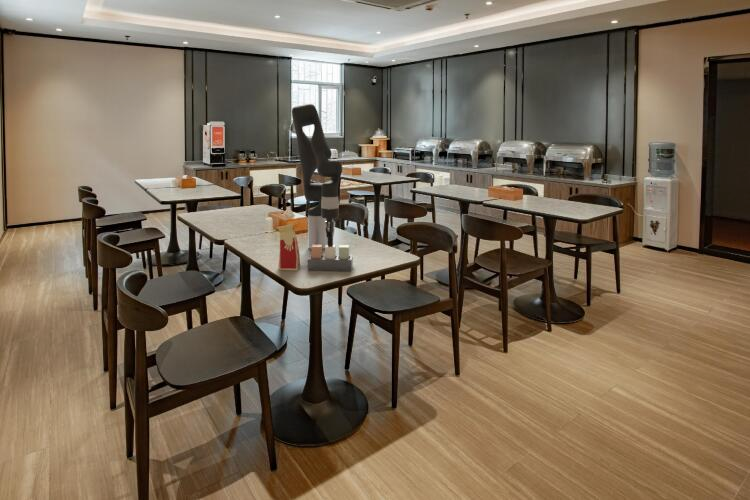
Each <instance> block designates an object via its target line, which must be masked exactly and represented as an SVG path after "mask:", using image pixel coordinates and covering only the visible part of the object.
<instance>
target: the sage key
mask: <svg viewBox="0 0 750 500" xmlns="http://www.w3.org/2000/svg"><path fill="white" fill-rule="evenodd" d="M338 255H339V259H349V255H350V244H345V245H344V244H339V246H338Z"/></svg>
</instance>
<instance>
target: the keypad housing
mask: <svg viewBox="0 0 750 500" xmlns="http://www.w3.org/2000/svg"><path fill="white" fill-rule="evenodd" d="M353 257H354V255H353V254H349V259H339V254H336V259H325V254H322V259H320V258H312V253H311V254H309V257H308V258H307V271H309V272H310V271H313V272H314V271H316V272H317V271H318V272H319V271H321V272H322V271H323V272H324V271H325V272H352V270H353V267H354V266H353V265H354V260H353V259H354V258H353Z"/></svg>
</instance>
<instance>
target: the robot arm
mask: <svg viewBox="0 0 750 500" xmlns="http://www.w3.org/2000/svg"><path fill="white" fill-rule="evenodd" d="M291 116H292V122H293V125H294V126H293V127H294V130H295V135H296V140H297V146H298V147H297V148H298V156H299V160H300V168H301V172H302V179H303V182H302V183H303V193H304V198H305V200H306V201H307V202H316V203H317V202H319V203H318V205H316V206H314V207H310V208H308V209H307V223H308V224H307V231H308V233H307V234H308V235H307V236H308V243H307V244H308V249H310V250H311V247H312V245H322V250H325V246H326V245H328V246H333V245H334V235H335V228H336V227H335V225H336V221H334V219H335V220H336V219H338V218H339V217H340V212H339V211H340V208H339V206H340V204H339V202H340V200H339V186H340V185H339V184H340V180H341V176H342V173H343V165H342V163H341V161H340V160H339V159H331V158H332V156H333V155H332V150H331V148H330V146H329V143H328V141H327V139H326V136H325V133H324V130H323V126H322V122H321V120H320V119H321V118H320V116H319V112H318V110H317V108H316V106H315V105H314V104H313V103H305V104H302V105H301V104H300V105H297V106H293V107H292V108H291ZM308 126H313V127H314V128H313V133H312V137H311V139H310V138H309V136H307V135H306V133H305V131H304V129H303V128H304V127H308ZM315 171H317V173H318V175H319V176H320V177H323V178H328V177H330V179H329V180H328V181H325V182H323V183H322V182H321V183H320V182H312V181H311V180H312V177H313V175H314V173H315Z"/></svg>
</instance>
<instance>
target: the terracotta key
mask: <svg viewBox="0 0 750 500" xmlns="http://www.w3.org/2000/svg"><path fill="white" fill-rule="evenodd" d="M310 250H311V251H310V252H311V254H312V258H320V259H322V255H323V249H322V245H312V247H311V249H310Z"/></svg>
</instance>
